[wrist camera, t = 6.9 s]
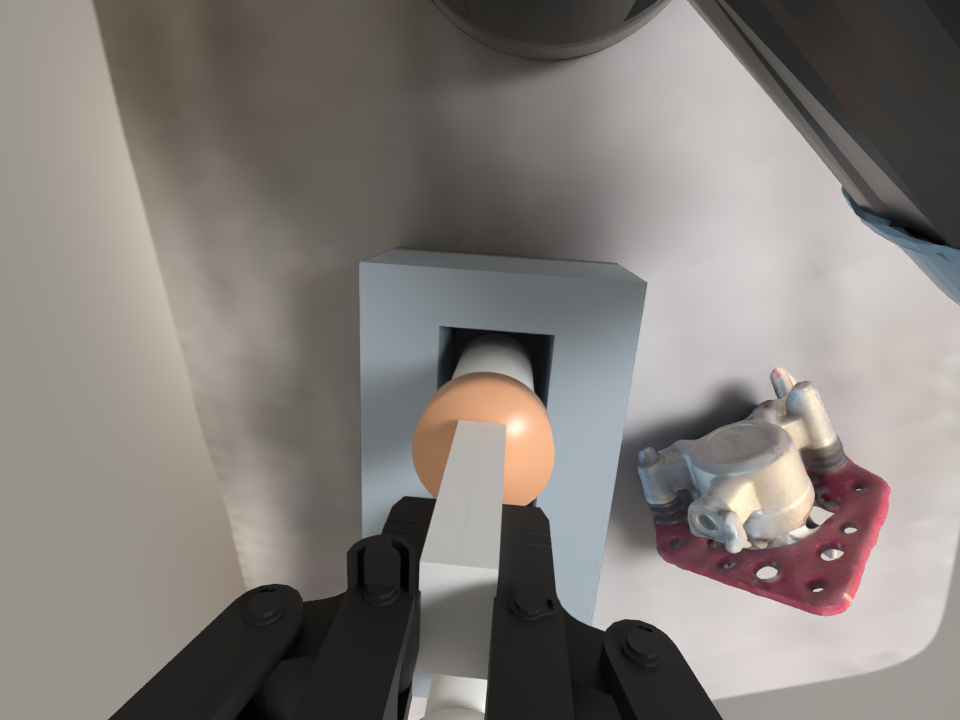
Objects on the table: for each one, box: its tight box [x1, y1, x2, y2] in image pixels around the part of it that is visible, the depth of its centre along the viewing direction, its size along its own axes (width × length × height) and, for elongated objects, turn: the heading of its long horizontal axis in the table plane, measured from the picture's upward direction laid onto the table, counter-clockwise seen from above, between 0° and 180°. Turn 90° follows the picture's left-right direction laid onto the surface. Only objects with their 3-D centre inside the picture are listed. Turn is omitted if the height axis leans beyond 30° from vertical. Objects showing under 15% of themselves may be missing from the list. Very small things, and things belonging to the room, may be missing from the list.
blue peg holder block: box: [359, 248, 647, 698], centre depth 28 cm, size 24×12×7 cm, turn 176°
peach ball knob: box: [412, 333, 555, 506], centre depth 20 cm, size 5×5×9 cm
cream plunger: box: [420, 674, 487, 720], centre depth 24 cm, size 5×5×9 cm
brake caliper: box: [637, 367, 890, 616], centre depth 27 cm, size 11×11×12 cm
